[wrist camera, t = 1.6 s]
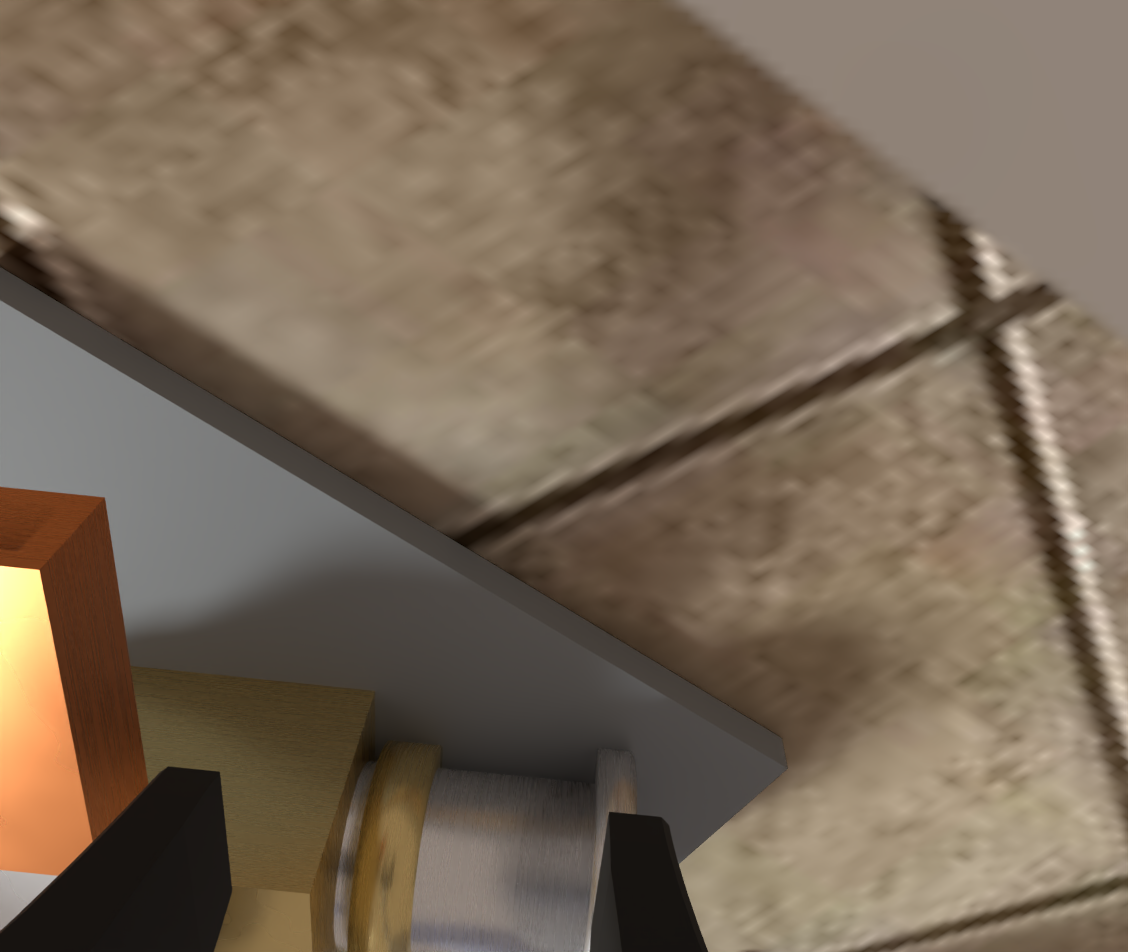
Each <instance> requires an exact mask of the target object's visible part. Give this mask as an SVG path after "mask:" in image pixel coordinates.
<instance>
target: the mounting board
mask: <svg viewBox="0 0 1128 952" xmlns="http://www.w3.org/2000/svg"><path fill="white" fill-rule="evenodd" d="M0 487H8V488H18V489H28V490H38V491H47V492H57V493H67V494H77V495H87V496H96V497H105V501H106V507H107V514H108V521H109V527H110V534H111V540H112V547H113V554H114V560H115V567H116V573H117V580H118V587H119V593H120V600H121V606H122V613H123V619H124V626H125V633H126V639H127V646H128V652H129V659H130V666H137V667H147V668H157V669H166V670H176V671H186V672H196V673H205V674H215V675H225V676H235V677H244V678H254V679H264V680H274V681H283V682H293V683H303V684H313V685H323V686H332V687H342V688H352V689H362V690H371V691H375V761H378V758H379V756H380V753H381V751H382V749H383V747H384V745H385V744H386V742H387V741H389V740H393V741H403V742H412V743H422V744H432V745H442V746H443V756H442V768H445V769H455V770H465V771H474V772H484V773H494V774H504V775H513V776H523V777H533V778H543V779H552V780H562V781H572V782H582V783H591V784H592V782H593V775H594V768H595V761H596V754H597V748H602V749H612V750H622V751H631V752H633V754H634V757H635V763H636V776H637V814H638V815H647V816H657V817H662V818H663V819H664V820H665V821H666V822H667V823H668V824H669V826H670V831H671V836H672V841H673V845H674V849H675V852H676V856H677V860H678V864H679V863H680V862H682V861H683V860H684V859H685V858H686V857H687V856H688V855H690V854H691V853H692V852H693V851H694V850H695V849H696V848H698V847H699V846H700V845H701V844H702V843H703V842H704V841H706V840H707V839H708V838H709V837H710V836H711V835H712V834H714V833H715V832H716V831H717V830H718V829H719V828H720V827H722V826H723V825H724V824H725V823H726V822H727V821H728V820H730V819H731V818H732V817H733V816H734V815H735V814H736V813H738V812H739V811H740V810H741V809H742V808H743V807H744V806H746V805H747V804H748V803H749V802H750V801H751V800H752V799H754V798H755V797H756V796H757V795H758V794H759V793H760V792H762V791H763V790H764V789H765V788H766V787H767V786H768V785H770V784H771V783H772V782H773V781H774V780H775V779H776V778H778V777H779V776H780V775H781V774H782V773H783V772H784V771H786V770H787V769H788V767H787V762H786V757H785V752H784V747H783V742H782V738H781V737H779V736H777V735H776V734H774V733H772V732H771V731H769V730H767V729H766V728H764V727H762V726H761V725H759V724H757V723H756V722H754V721H752V720H751V719H749V718H747V717H746V716H744V715H742V714H741V713H739V712H737V711H736V710H734V709H732V708H731V707H729V706H727V705H726V704H724V703H723V702H721V701H719V700H718V699H716V698H714V697H713V696H711V695H709V694H708V693H706V692H704V691H703V690H701V689H699V688H698V687H696V686H694V685H693V684H691V683H689V682H688V681H686V680H684V679H683V678H681V677H679V676H678V675H676V674H674V673H673V672H671V671H669V670H668V669H666V668H664V667H663V666H661V665H659V664H658V663H656V662H655V661H653V660H651V659H650V658H648V657H646V656H645V655H643V654H641V653H640V652H638V651H636V650H635V649H633V648H631V647H630V646H628V645H626V644H625V643H623V642H621V641H620V640H618V639H616V638H615V637H613V636H611V635H610V634H608V633H606V632H605V631H603V630H601V629H600V628H598V627H596V626H595V625H593V624H591V623H590V622H588V621H587V620H585V619H583V618H582V617H580V616H578V615H577V614H575V613H573V612H572V611H570V610H568V609H567V608H565V607H563V606H562V605H560V604H558V603H557V602H555V601H553V600H552V599H550V598H548V597H547V596H545V595H543V594H542V593H540V592H538V591H537V590H535V589H533V588H532V587H530V586H528V585H527V584H525V583H523V582H522V581H520V580H519V579H517V578H515V577H514V576H512V575H510V574H509V573H507V572H505V571H504V570H502V569H500V568H499V567H497V566H495V565H494V564H492V563H490V562H489V561H487V560H485V559H484V558H482V557H480V556H479V555H477V554H475V553H474V552H472V551H470V550H469V549H467V548H465V547H464V546H462V545H460V544H459V543H457V542H455V541H454V540H452V539H450V538H449V537H447V536H446V535H444V534H442V533H441V532H439V531H437V530H436V529H434V528H432V527H431V526H429V525H427V524H426V523H424V522H422V521H421V520H419V519H417V518H416V517H414V516H412V515H411V514H409V513H407V512H406V511H404V510H402V509H401V508H399V507H397V506H396V505H394V504H392V503H391V502H389V501H387V500H386V499H384V498H382V497H381V496H379V495H378V494H376V493H374V492H373V491H371V490H369V489H368V488H366V487H364V486H363V485H361V484H359V483H358V482H356V481H354V480H353V479H351V478H349V477H348V476H346V475H344V474H343V473H341V472H339V471H338V470H336V469H334V468H333V467H331V466H329V465H328V464H326V463H324V462H323V461H321V460H319V459H318V458H316V457H314V456H313V455H311V454H310V453H308V452H306V451H305V450H303V449H301V448H300V447H298V446H296V445H295V444H293V443H291V442H290V441H288V440H286V439H285V438H283V437H281V436H280V435H278V434H276V433H275V432H273V431H271V430H270V429H268V428H266V427H265V426H263V425H261V424H260V423H258V422H256V421H255V420H253V419H251V418H250V417H248V416H246V415H245V414H243V413H242V412H240V411H238V410H237V409H235V408H233V407H232V406H230V405H228V404H227V403H225V402H223V401H222V400H220V399H218V398H217V397H215V396H213V395H212V394H210V393H208V392H207V391H205V390H203V389H202V388H200V387H198V386H197V385H195V384H193V383H192V382H190V381H188V380H187V379H185V378H183V377H182V376H180V375H178V374H177V373H175V372H174V371H172V370H170V369H169V368H167V367H165V366H164V365H162V364H160V363H159V362H157V361H155V360H154V359H152V358H150V357H149V356H147V355H145V354H144V353H142V352H140V351H139V350H137V349H135V348H134V347H132V346H130V345H129V344H127V343H125V342H124V341H122V340H120V339H119V338H117V337H115V336H114V335H112V334H110V333H109V332H107V331H106V330H104V329H102V328H101V327H99V326H97V325H96V324H94V323H92V322H91V321H89V320H87V319H86V318H84V317H82V316H81V315H79V314H77V313H76V312H74V311H72V310H71V309H69V308H67V307H66V306H64V305H62V304H61V303H59V302H57V301H56V300H54V299H52V298H51V297H49V296H47V295H46V294H44V293H42V292H41V291H39V290H37V289H36V288H34V287H33V286H31V285H29V284H28V283H26V282H24V281H23V280H21V279H19V278H18V277H16V276H14V275H13V274H11V273H9V272H8V271H6V270H4V269H3V268H1V267H0Z"/></svg>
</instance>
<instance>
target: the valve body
mask: <svg viewBox="0 0 1128 952" xmlns="http://www.w3.org/2000/svg"><path fill="white" fill-rule="evenodd" d="M131 672H132V679H133V685H134V692H135V699H136V705H137V712H138V718H139V725H140V731H141V738H142V745H143V751H144V758H145V764H146V771H147V778H148V784H149V783H150V782H151V781H152V780H153V779H154V778H155V777H156V776H157V775H158V773H159V772H161V771H162V770H164V769H165V768H166V767H168V766H170V767H180V768H189V769H199V770H209V771H219V772H220V777H221V786H222V796H223V806H224V815H225V825H226V834H227V844H228V854H229V863H230V873H231V883H232V894H231V897H230V901H229V904H228V907H227V911H226V914H225V917H224V921H223V924H222V927H221V930H220V934H219V937H218V940H217V943H216V947H215V950H214V952H590V938H591V925H592V919H593V912H594V906H595V899H596V893H597V886H598V880H599V873H600V867H601V860H602V854H603V847H604V841H605V834H606V828H607V821H608V815H609V812H618V813H628V814H637V776H636V763H635V757H634V754H633V752H631V751H622V750H612V749H602V748H597V754H596V761H595V768H594V775H593V782H592V784H591V783H582V782H572V781H562V780H552V779H543V778H533V777H523V776H513V775H504V774H494V773H484V772H474V771H465V770H455V769H445V768H442V756H443V746H442V745H432V744H422V743H412V742H403V741H393V740H389V741H387V742H386V744H385V745H384V747H383V749H382V751H381V753H380V756H379V758H378V761H375V691H371V690H362V689H352V688H342V687H332V686H323V685H313V684H303V683H293V682H283V681H274V680H264V679H254V678H244V677H235V676H225V675H215V674H205V673H196V672H186V671H176V670H166V669H157V668H147V667H137V666H131Z"/></svg>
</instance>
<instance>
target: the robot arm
mask: <svg viewBox="0 0 1128 952" xmlns="http://www.w3.org/2000/svg"><path fill="white" fill-rule="evenodd" d="M231 894H232V883H231V873H230V863H229V854H228V844H227V834H226V825H225V815H224V806H223V796H222V786H221V777H220V772H219V771H209V770H199V769H189V768H180V767H170V766H168V767H166V768H165V769H164V770H162V771H161V772H159V773H158V775H157V776H156V777H155V778H154V779H153V780H152V781H151V782H150V783H149V784H148V785H147V786H146V787H145V788H144V789H143V790H142V791H141V792H140V793H139V794H138V795H137V796H136V798H135V799H134V800H133V801H132V802H131V803H130V804H129V805H128V806H127V807H126V808H125V809H124V810H123V811H122V812H121V813H120V814H119V815H118V816H117V817H116V818H115V819H114V820H113V821H112V822H111V823H110V824H109V825H108V827H107V828H106V829H105V830H104V831H103V832H102V833H101V834H100V835H99V836H98V837H97V838H96V839H95V840H94V841H93V842H92V843H91V844H90V845H89V846H88V847H87V848H86V849H85V850H84V851H83V852H82V853H81V854H80V855H79V856H78V857H77V858H76V859H75V860H74V861H73V862H72V863H71V864H70V865H69V866H68V867H67V868H66V869H65V870H64V871H63V872H62V873H60V874H59V875H58V876H57V877H56V878H55V879H54V880H53V881H52V882H51V883H50V884H49V885H48V886H47V887H46V888H45V889H44V890H43V891H42V892H41V893H40V894H39V895H38V896H37V897H36V898H34V899H33V900H32V901H31V902H30V903H29V904H28V905H27V906H26V907H25V908H24V909H23V910H22V911H21V912H20V913H19V914H18V915H17V916H16V917H15V918H14V919H12V920H11V921H10V922H9V923H8V924H7V925H6V926H5V927H4V928H3V929H2V930H1V931H0V952H214V950H215V947H216V943H217V940H218V937H219V934H220V930H221V927H222V924H223V921H224V917H225V914H226V911H227V907H228V904H229V901H230V897H231ZM590 952H708V950H707V948H706V945H705V942H704V939H703V937H702V934H701V931H700V929H699V926H698V923H697V920H696V917H695V914H694V911H693V908H692V905H691V902H690V899H689V897H688V893H687V890H686V887H685V884H684V881H683V877H682V874H681V871H680V867H679V864H678V860H677V856H676V852H675V849H674V845H673V841H672V836H671V831H670V826H669V824H668V823H667V822H666V821H665V820H664V819H663V818H662V817H657V816H647V815H638V814H628V813H618V812H609V815H608V821H607V828H606V834H605V841H604V847H603V854H602V860H601V867H600V873H599V880H598V886H597V893H596V899H595V906H594V912H593V919H592V925H591V938H590Z"/></svg>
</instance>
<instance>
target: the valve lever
mask: <svg viewBox="0 0 1128 952" xmlns="http://www.w3.org/2000/svg"><path fill="white" fill-rule="evenodd" d="M147 785H148V778H147V771H146V764H145V758H144V751H143V745H142V738H141V731H140V725H139V718H138V712H137V705H136V699H135V692H134V685H133V679H132V672H131V666H130V659H129V652H128V646H127V639H126V633H125V626H124V619H123V613H122V606H121V600H120V593H119V587H118V580H117V573H116V567H115V560H114V554H113V547H112V540H111V534H110V527H109V521H108V514H107V507H106V501H105V497H96V496H87V495H77V494H67V493H57V492H47V491H38V490H28V489H18V488H8V487H0V931H1V930H2V929H3V928H4V927H5V926H6V925H7V924H8V923H9V922H10V921H11V920H12V919H14V918H15V917H16V916H17V915H18V914H19V913H20V912H21V911H22V910H23V909H24V908H25V907H26V906H27V905H28V904H29V903H30V902H31V901H32V900H33V899H34V898H36V897H37V896H38V895H39V894H40V893H41V892H42V891H43V890H44V889H45V888H46V887H47V886H48V885H49V884H50V883H51V882H52V881H53V880H54V879H55V878H56V877H57V876H58V875H59V874H60V873H62V872H63V871H64V870H65V869H66V868H67V867H68V866H69V865H70V864H71V863H72V862H73V861H74V860H75V859H76V858H77V857H78V856H79V855H80V854H81V853H82V852H83V851H84V850H85V849H86V848H87V847H88V846H89V845H90V844H91V843H92V842H93V841H94V840H95V839H96V838H97V837H98V836H99V835H100V834H101V833H102V832H103V831H104V830H105V829H106V828H107V827H108V825H109V824H110V823H111V822H112V821H113V820H114V819H115V818H116V817H117V816H118V815H119V814H120V813H121V812H122V811H123V810H124V809H125V808H126V807H127V806H128V805H129V804H130V803H131V802H132V801H133V800H134V799H135V798H136V796H137V795H138V794H139V793H140V792H141V791H142V790H143V789H144V788H145V787H146V786H147Z"/></svg>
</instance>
